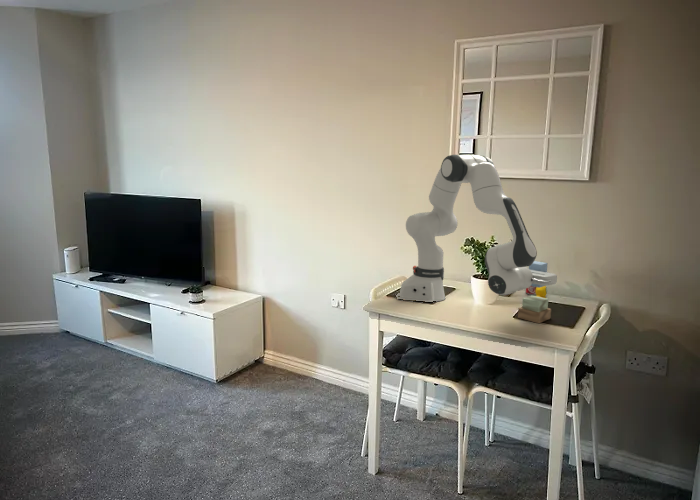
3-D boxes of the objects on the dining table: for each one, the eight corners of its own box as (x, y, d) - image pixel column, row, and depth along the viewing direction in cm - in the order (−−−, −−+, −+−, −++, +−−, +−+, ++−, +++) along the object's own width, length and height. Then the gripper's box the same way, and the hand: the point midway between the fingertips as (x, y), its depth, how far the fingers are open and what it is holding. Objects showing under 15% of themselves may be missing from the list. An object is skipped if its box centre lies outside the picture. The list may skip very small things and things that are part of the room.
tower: (539, 323, 192) (540, 303, 190) (517, 317, 198) (519, 298, 197) (550, 318, 198) (552, 299, 196) (529, 313, 204) (530, 294, 203)
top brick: (539, 287, 192) (541, 264, 190) (527, 285, 196) (529, 262, 194) (545, 285, 195) (547, 263, 194) (534, 283, 199) (535, 261, 197)
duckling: (536, 303, 217) (538, 281, 215) (549, 306, 214) (551, 283, 212) (529, 310, 208) (530, 287, 206) (542, 312, 205) (544, 289, 203)
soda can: (543, 295, 230) (545, 270, 228) (528, 296, 229) (530, 270, 227) (537, 291, 237) (538, 267, 234) (522, 292, 236) (524, 267, 234)
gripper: (547, 274, 178) (565, 268, 187) (496, 265, 193) (515, 260, 202) (546, 291, 179) (564, 285, 188) (496, 281, 194) (514, 275, 203)
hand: (538, 272), depth 195 cm, fingers closed on top brick, 5 cm apart
